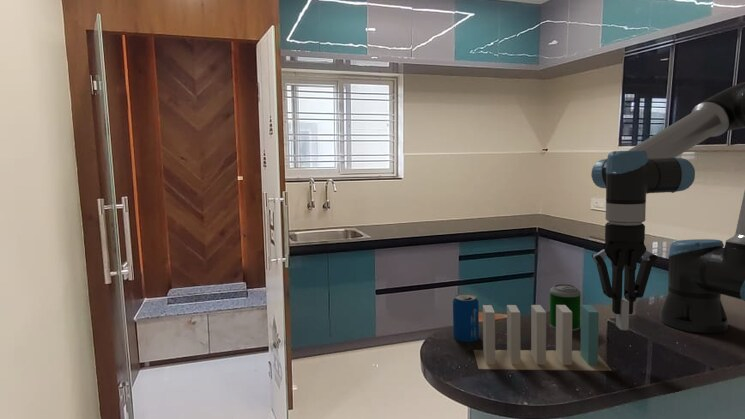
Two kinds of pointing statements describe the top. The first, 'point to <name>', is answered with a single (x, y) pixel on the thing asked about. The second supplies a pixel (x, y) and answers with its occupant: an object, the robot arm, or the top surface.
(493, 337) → the tile
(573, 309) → the soda can
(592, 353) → the head tile
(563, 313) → the tile
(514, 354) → the tile
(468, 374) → the top surface
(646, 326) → the top surface
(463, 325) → the beverage can
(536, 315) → the tile
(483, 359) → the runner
